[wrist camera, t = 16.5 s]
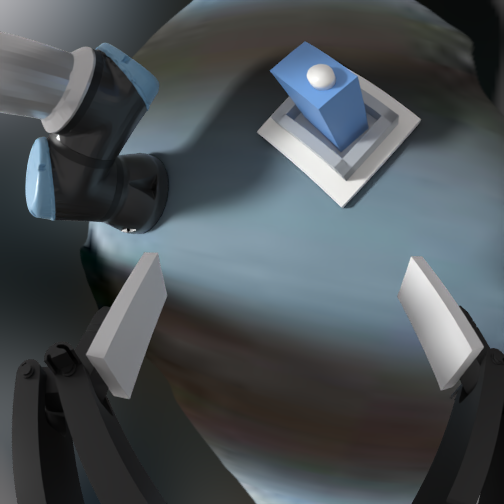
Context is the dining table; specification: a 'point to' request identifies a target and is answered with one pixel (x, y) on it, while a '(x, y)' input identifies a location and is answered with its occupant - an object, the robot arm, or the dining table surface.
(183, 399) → the dining table surface
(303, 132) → the white square socket base
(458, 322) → the robot arm
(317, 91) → the blue drink carton
